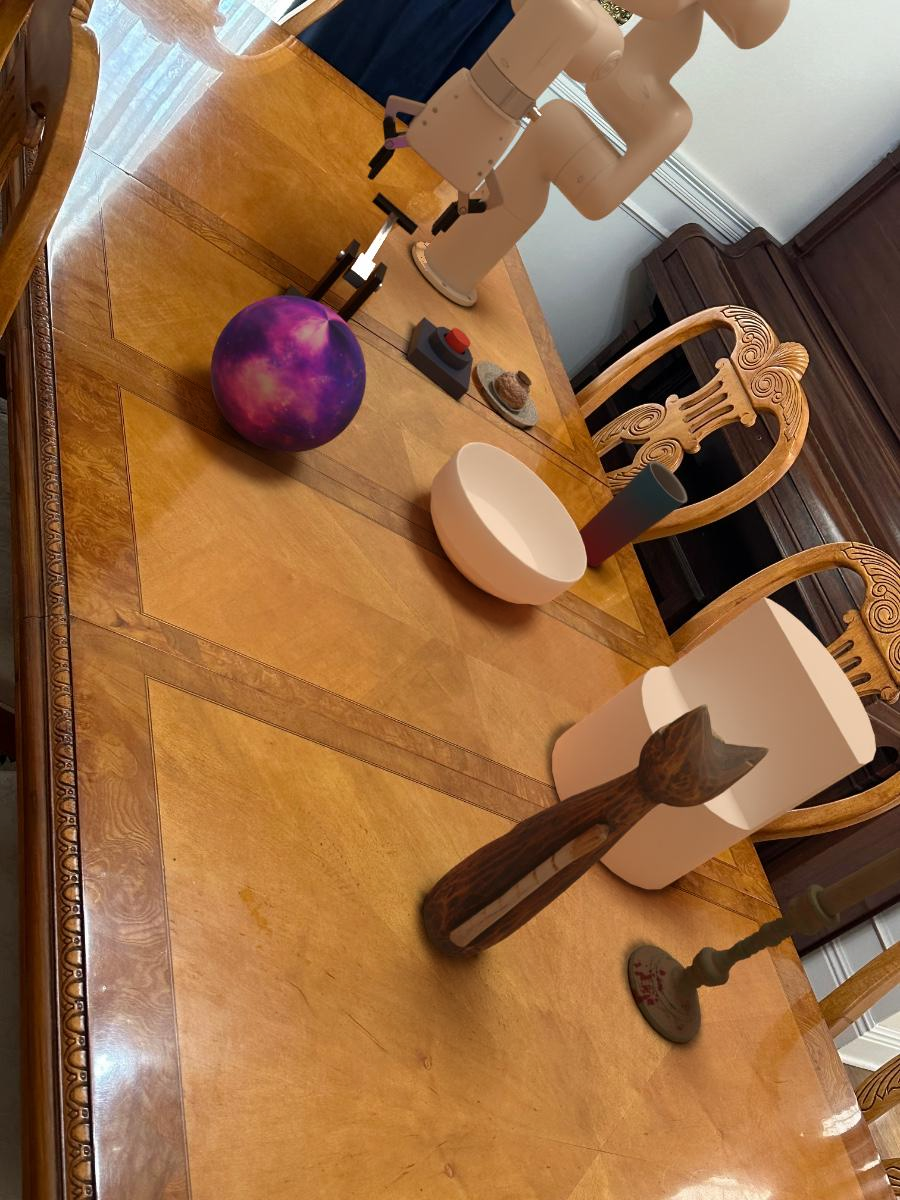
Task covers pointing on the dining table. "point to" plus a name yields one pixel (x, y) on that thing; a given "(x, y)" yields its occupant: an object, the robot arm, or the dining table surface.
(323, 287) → the bracket
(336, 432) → the decorative orb
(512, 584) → the bowl
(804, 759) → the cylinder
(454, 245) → the robot arm
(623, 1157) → the dining table surface
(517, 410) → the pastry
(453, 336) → the button
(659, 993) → the candlestick holder
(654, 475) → the cup
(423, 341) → the button box
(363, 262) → the lever
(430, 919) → the sculpture
